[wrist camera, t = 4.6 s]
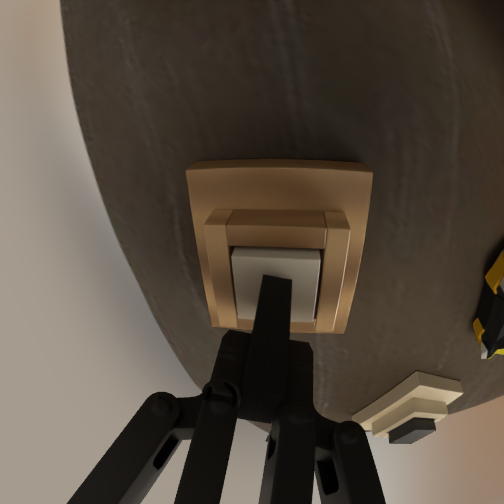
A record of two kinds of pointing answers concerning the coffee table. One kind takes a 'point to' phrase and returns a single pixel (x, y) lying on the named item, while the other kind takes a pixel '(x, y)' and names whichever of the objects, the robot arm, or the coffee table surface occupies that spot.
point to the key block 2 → (409, 403)
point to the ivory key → (279, 265)
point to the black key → (412, 430)
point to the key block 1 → (281, 227)
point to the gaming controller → (492, 312)
